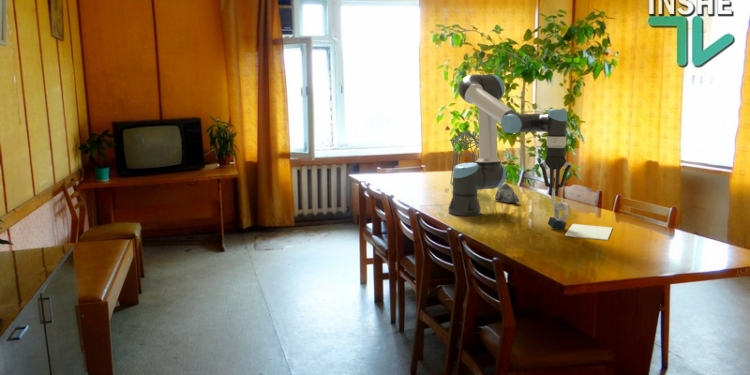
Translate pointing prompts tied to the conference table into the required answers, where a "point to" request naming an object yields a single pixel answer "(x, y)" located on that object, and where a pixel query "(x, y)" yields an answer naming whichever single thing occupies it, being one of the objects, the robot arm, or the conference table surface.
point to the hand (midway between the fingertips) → (553, 203)
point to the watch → (558, 222)
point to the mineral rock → (506, 194)
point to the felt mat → (589, 232)
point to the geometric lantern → (464, 146)
